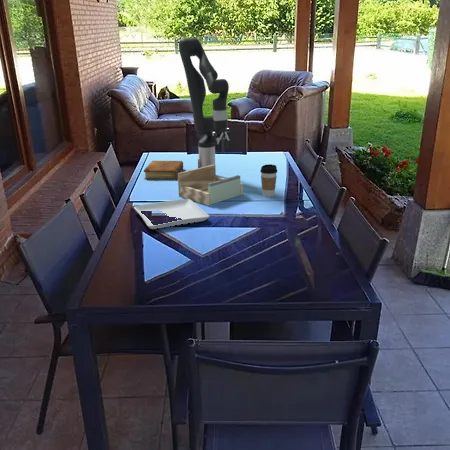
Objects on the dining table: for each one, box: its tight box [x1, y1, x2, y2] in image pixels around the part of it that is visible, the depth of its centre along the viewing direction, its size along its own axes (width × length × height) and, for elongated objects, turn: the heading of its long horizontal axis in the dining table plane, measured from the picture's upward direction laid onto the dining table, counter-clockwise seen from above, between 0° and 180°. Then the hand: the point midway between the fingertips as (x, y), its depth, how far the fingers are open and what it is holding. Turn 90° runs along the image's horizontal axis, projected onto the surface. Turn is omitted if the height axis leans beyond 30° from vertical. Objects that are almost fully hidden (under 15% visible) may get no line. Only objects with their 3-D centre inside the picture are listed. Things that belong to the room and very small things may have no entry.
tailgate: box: [208, 175, 241, 205], centre depth 242 cm, size 2×20×10 cm, turn 134°
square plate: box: [133, 198, 210, 230], centre depth 221 cm, size 27×27×4 cm
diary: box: [143, 160, 184, 180], centre depth 290 cm, size 23×19×6 cm
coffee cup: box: [260, 163, 278, 198], centre depth 247 cm, size 8×8×15 cm
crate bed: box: [177, 164, 244, 206], centre depth 248 cm, size 22×24×12 cm
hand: (222, 149), depth 267 cm, fingers open, 8 cm apart
